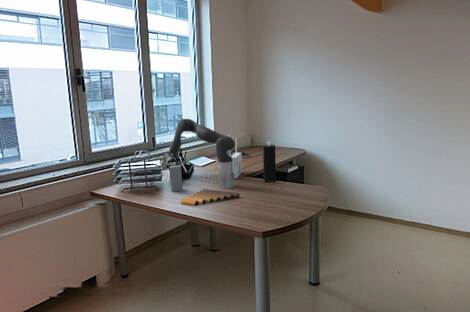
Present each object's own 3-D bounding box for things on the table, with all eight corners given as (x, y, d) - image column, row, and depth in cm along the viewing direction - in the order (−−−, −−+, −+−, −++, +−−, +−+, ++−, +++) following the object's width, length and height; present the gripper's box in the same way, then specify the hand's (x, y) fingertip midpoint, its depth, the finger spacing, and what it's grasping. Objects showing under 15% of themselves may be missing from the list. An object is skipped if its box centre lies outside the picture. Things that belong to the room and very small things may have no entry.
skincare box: (237, 179, 259) (236, 157, 256) (229, 178, 260) (228, 157, 258) (242, 172, 280) (241, 152, 277) (235, 172, 281) (234, 152, 278)
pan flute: (239, 197, 216) (205, 193, 228) (239, 192, 215) (205, 188, 228) (217, 210, 195) (180, 204, 207) (217, 204, 194) (180, 199, 206)
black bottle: (263, 179, 254) (262, 140, 249) (274, 179, 255) (273, 140, 249) (264, 182, 247) (263, 142, 242) (276, 181, 247) (275, 141, 242)
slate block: (171, 189, 237) (169, 166, 234) (181, 188, 239) (180, 165, 236) (171, 191, 233) (170, 167, 230) (182, 190, 235) (180, 166, 232)
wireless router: (251, 158, 333) (250, 137, 329) (226, 160, 328) (225, 138, 324) (242, 152, 365) (241, 133, 361) (219, 154, 360) (218, 134, 356)
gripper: (162, 158, 258) (163, 163, 241) (180, 157, 261) (183, 161, 244) (162, 168, 259) (164, 174, 243) (181, 167, 262) (184, 172, 246)
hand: (173, 167), depth 243 cm, fingers closed
